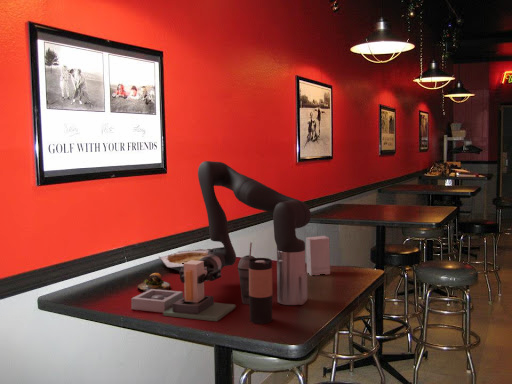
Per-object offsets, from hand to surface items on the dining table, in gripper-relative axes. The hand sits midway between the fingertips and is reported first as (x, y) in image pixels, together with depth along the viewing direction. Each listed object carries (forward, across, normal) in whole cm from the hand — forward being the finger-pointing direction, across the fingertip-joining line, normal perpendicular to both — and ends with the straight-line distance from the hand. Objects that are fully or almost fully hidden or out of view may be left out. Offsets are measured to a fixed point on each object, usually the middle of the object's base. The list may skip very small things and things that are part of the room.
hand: (191, 280), depth 165 cm
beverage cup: (-13, +15, +10) cm, 23 cm away
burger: (-24, -23, +11) cm, 35 cm away
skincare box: (-56, +33, +11) cm, 66 cm away
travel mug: (+4, +23, +10) cm, 25 cm away
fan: (-8, -11, +10) cm, 17 cm away
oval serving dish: (-64, -23, +12) cm, 69 cm away
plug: (-3, 0, +7) cm, 7 cm away
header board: (-1, +2, +10) cm, 11 cm away
